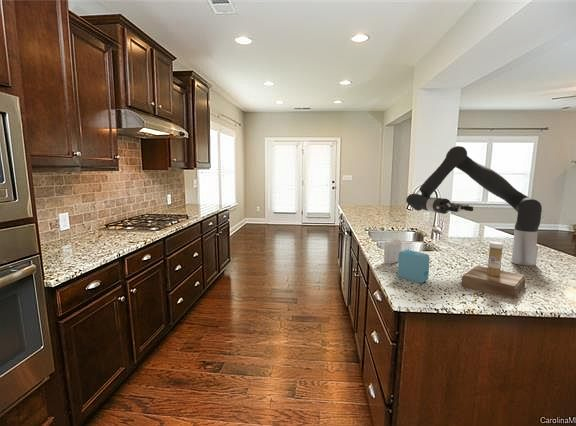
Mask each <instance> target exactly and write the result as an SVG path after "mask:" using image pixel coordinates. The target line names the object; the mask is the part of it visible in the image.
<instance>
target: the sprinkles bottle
mask: <svg viewBox="0 0 576 426" xmlns="http://www.w3.org/2000/svg"><path fill="white" fill-rule="evenodd" d="M503 249H504V243H503V242H499V241H490V242H489V253H488V259H487V268H488V271H487V274H488V275H491V276H500V270H501V268H502V267H501V266H502V258H503V257H502V256H503Z"/></svg>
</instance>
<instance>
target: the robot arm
mask: <svg viewBox="0 0 576 426" xmlns="http://www.w3.org/2000/svg"><path fill="white" fill-rule="evenodd" d="M445 154H446V155H445V158H444V159H443V160H442V163H441V164H440V165H439V166H438V167H437V168H436V169H435V171H433V173H431V174H430V175H429V176H428V178H427V179H425V181H424V182H423V183H422V185H420V187H419V192H420V193H421V194H419V193H415V192H414V193H411V194H408V195H407V196H406V203H407V205H408V206H410V208H412V209H414V210H415V211H417V212H419V211H422V210H423V211H429V212H432V213H436V214H442V215H446V214H448V213H449V212H453V213H458V212H461V211H467V212H473V211H474V206H472V205H469V204H465V203H464V204H463V203H455V202H451V201H450V200H449V199H448V198H443V197H442V198H441V197H432V194H433V193H434V192H435V191H436V190H437V189H438V188H439V187H440V185H441V184H442V183H443V182H444V180H445V179H446V178H447V176H448V175H449V174H450V173H452V172H453V170H454V169H455V168H457V169H459V170H460V171H462V172H463V173H465V175H467V176H468V177H469V178H471V179H472V180H473V181H474V182H476V183H477V184H478V185H479V186H481V188H483V189H484V190H486V191H488V192H489V193H491V194H493V195H494V196H496V197H497V198H500V199H501V200H503V201H505V202H506V203H507V204H509V206H510V207H512V208H513V209H514V210H515V211H516V212H517V216H516V217H517V218H516V222H515V224H514V230H513V231H514V233H513V242H512V251H511V252H512V253H511V263H512V264H514V265H520V266H526V267H527V266H528V267H529V266H530V267H531V266H532V267H533V266H535V265H536V266H537V261H538V260H537V259H538V251H539V246H538V245H537V241H538V235H539V234H538V231H539V227H540V224H541V220H542V213H543V212H542V210H543V208H542V204H541V202H539V200H537V199H535V198H532V197H529V196H527V195H526V194H524V193H523V192H520V191H519V190H517V188H515V187H514V186H513V185H512V184H511V183H510V182H509V181H508V180H506V179H505V178H504V177H503V176H502V175H500V174H499V173H497V171H495V170H493V169H491V168H489V167H487V166H486V165H483V164H480V163H478V162H476V161H474V160H473V159H472V158H470V157H469V156H468V151H467V149H466V148H465V147H464V146H461V145H456V146H453V147H451V148H450V149H449V150H448V151H447V152H446V153H445Z"/></svg>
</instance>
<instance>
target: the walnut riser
mask: <svg viewBox="0 0 576 426" xmlns="http://www.w3.org/2000/svg"><path fill="white" fill-rule="evenodd" d="M487 271H488V267H485V266H480V265H476V266H474V267H472V269H470V270H468V271H466V272H465V273H464V274H463V275H462V276H461V285H460V286H461V288H462V287H463V288H466V289H470V290H474V291H478V292H481V293H482V292H483V293H486V294H490V295H494V296H499V297H501V298H502V297H503V298H506V299H510V300H514V301H515V300H516V298H517V297H518V296H519V295H520V294H521V292H522V291H523V289H524V288H525V285H526V275H524V274H522V273H521V274H520V273H515V272H510V271H506V270H501V269H500V276H491V275H488V274H487Z"/></svg>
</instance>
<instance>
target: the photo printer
mask: <svg viewBox="0 0 576 426" xmlns="http://www.w3.org/2000/svg"><path fill="white" fill-rule="evenodd" d="M402 245H403V244H402V241H401V239H398V238H390V239H388V240H386V241H385V243H384V245H383V246H384V247H383V250H384V251H383V262H384V264H386V265H390V264H395V263H398V256H399V252H401V251H402Z"/></svg>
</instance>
